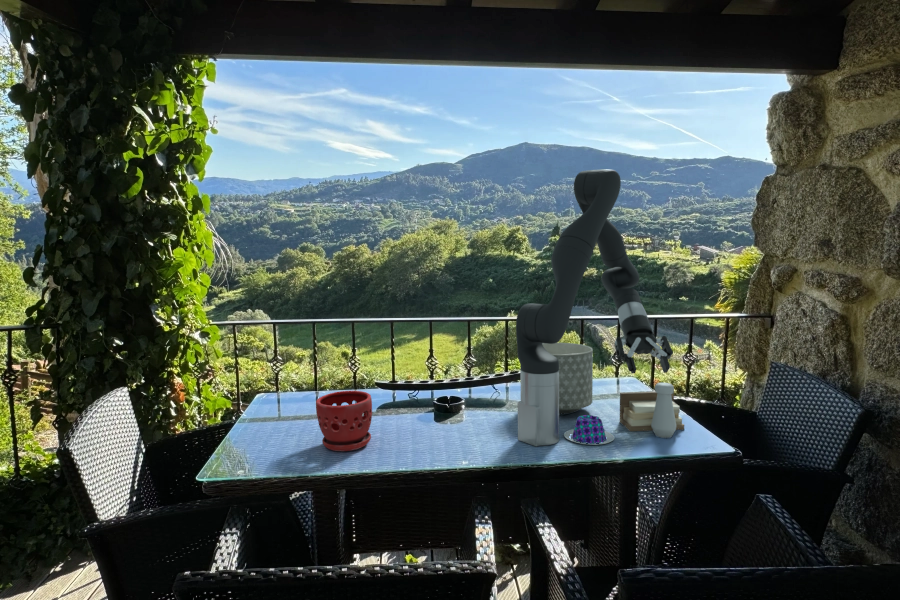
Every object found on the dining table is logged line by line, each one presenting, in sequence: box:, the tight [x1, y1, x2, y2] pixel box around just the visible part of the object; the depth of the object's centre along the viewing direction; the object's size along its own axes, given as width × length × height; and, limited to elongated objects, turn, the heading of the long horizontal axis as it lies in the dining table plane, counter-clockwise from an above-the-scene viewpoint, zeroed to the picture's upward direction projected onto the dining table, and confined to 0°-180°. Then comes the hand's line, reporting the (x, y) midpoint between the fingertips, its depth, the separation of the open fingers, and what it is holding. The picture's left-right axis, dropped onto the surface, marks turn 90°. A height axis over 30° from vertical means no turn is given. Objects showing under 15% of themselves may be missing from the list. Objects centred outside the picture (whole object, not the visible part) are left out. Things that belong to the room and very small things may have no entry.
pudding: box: [563, 414, 615, 446], centre depth 135 cm, size 12×12×5 cm
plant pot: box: [315, 390, 373, 452], centre depth 133 cm, size 13×13×12 cm
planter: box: [543, 342, 594, 416], centre depth 158 cm, size 19×19×18 cm
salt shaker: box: [651, 382, 677, 439], centre depth 136 cm, size 6×6×13 cm
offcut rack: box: [619, 391, 685, 432], centre depth 143 cm, size 8×14×8 cm, turn 92°
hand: (650, 371), depth 143 cm, fingers open, 8 cm apart
